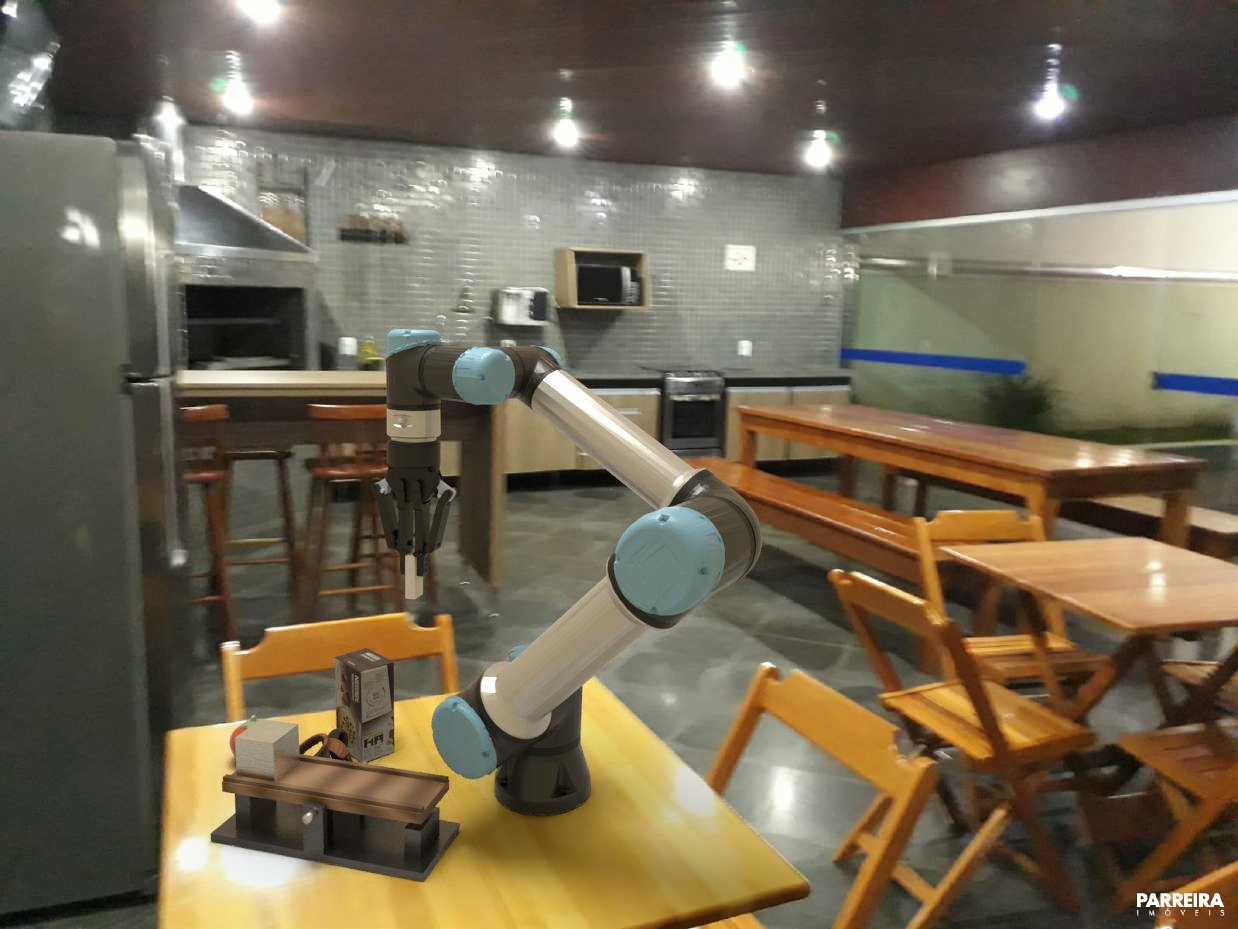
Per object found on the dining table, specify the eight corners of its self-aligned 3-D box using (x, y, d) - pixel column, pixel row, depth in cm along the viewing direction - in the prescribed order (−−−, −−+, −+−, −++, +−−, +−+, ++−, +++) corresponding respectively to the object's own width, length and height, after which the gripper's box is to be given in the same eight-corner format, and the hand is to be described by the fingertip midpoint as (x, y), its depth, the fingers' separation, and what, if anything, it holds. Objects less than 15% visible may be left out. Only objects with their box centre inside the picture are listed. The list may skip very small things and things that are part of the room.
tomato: (280, 767, 141) (279, 721, 140) (230, 776, 138) (228, 729, 136) (277, 746, 147) (276, 702, 146) (229, 754, 144) (228, 709, 143)
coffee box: (396, 752, 147) (395, 661, 145) (361, 764, 143) (360, 672, 140) (368, 733, 153) (367, 646, 151) (334, 744, 149) (333, 655, 146)
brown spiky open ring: (351, 798, 134) (322, 760, 131) (301, 816, 136) (271, 779, 133) (374, 743, 145) (347, 707, 142) (327, 761, 147) (300, 726, 144)
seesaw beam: (449, 789, 123) (449, 775, 123) (421, 824, 114) (420, 809, 114) (262, 760, 129) (261, 747, 129) (222, 791, 121) (221, 777, 120)
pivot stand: (464, 824, 127) (464, 774, 126) (417, 889, 112) (417, 833, 111) (270, 791, 134) (268, 743, 132) (202, 848, 119) (200, 794, 118)
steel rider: (299, 762, 126) (298, 724, 125) (274, 783, 120) (273, 743, 119) (263, 757, 127) (261, 719, 127) (236, 777, 122) (234, 737, 121)
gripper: (359, 438, 122) (361, 599, 126) (445, 444, 119) (444, 609, 123) (384, 432, 129) (386, 584, 133) (466, 437, 126) (465, 593, 130)
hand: (414, 596), depth 128 cm, fingers closed
